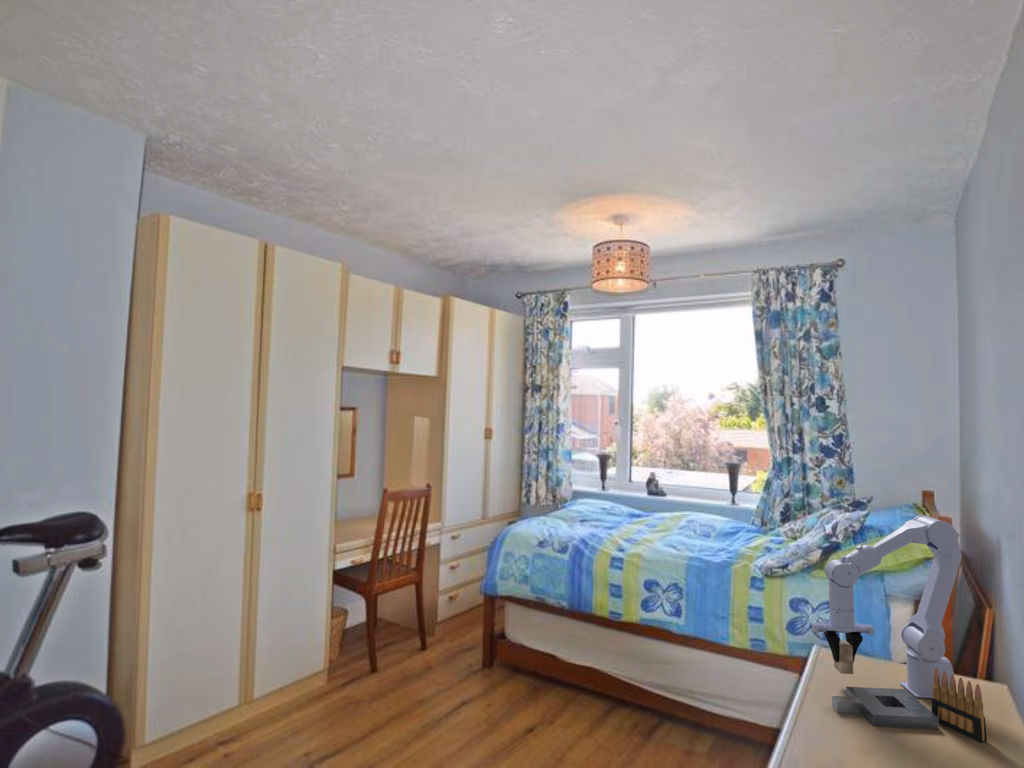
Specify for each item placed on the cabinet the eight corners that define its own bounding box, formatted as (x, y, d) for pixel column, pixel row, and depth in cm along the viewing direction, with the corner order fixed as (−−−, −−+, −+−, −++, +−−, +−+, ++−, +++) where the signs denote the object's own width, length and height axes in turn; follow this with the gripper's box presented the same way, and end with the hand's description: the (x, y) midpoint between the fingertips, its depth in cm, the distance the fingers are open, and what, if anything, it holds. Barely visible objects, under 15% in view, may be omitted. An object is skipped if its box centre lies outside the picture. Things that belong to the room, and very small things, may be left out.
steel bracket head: (905, 699, 149) (905, 689, 149) (939, 729, 135) (938, 717, 135) (822, 695, 151) (822, 685, 151) (847, 724, 137) (847, 713, 137)
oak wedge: (846, 667, 158) (845, 640, 159) (853, 674, 154) (852, 646, 155) (834, 667, 159) (833, 640, 159) (840, 673, 155) (840, 645, 155)
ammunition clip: (987, 741, 130) (985, 685, 131) (981, 743, 129) (979, 686, 130) (936, 718, 140) (934, 665, 140) (931, 720, 139) (929, 667, 140)
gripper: (863, 603, 160) (865, 655, 160) (806, 602, 162) (808, 653, 161) (876, 612, 153) (878, 666, 153) (817, 610, 155) (818, 664, 154)
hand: (843, 660), depth 157 cm, fingers closed on oak wedge, 3 cm apart
